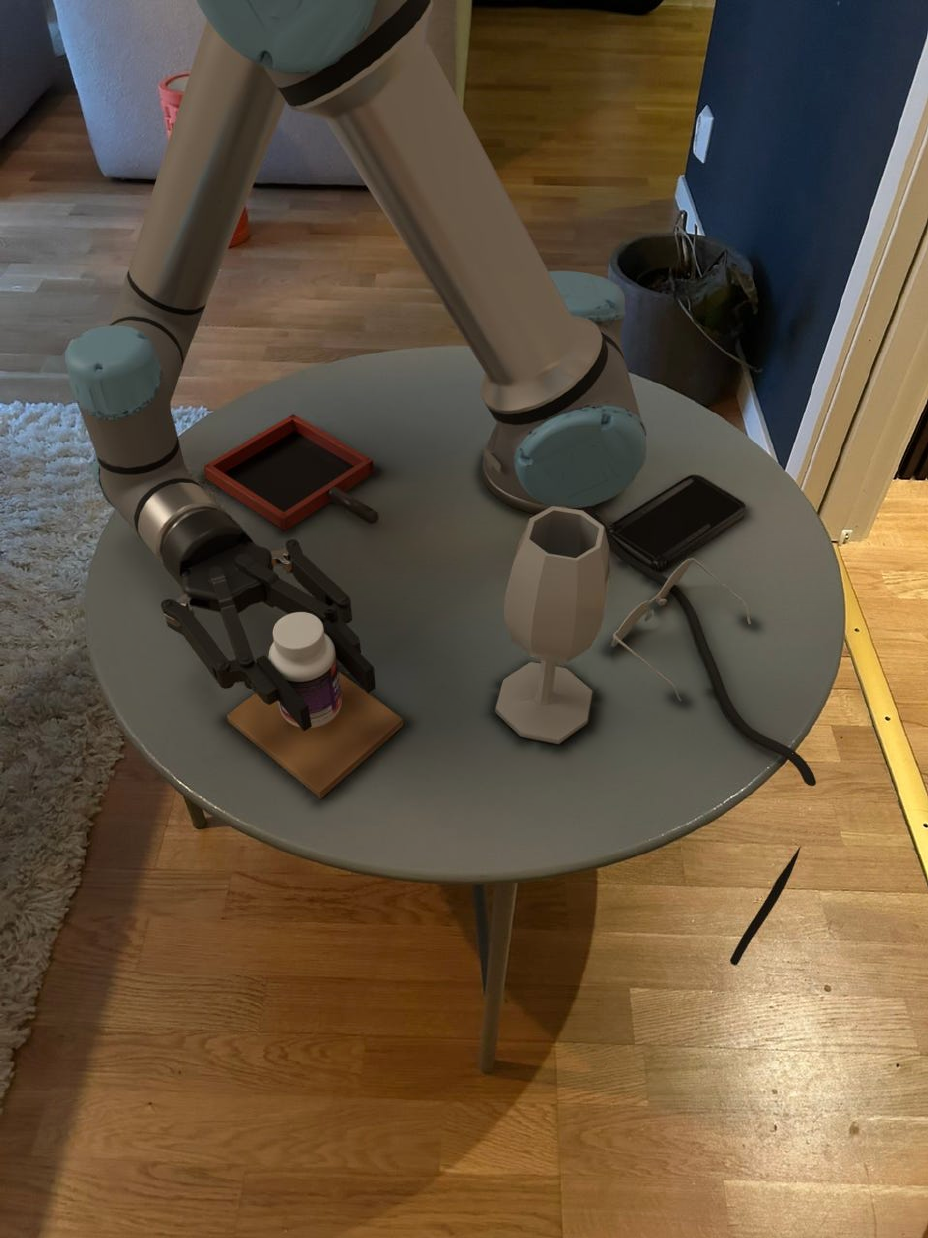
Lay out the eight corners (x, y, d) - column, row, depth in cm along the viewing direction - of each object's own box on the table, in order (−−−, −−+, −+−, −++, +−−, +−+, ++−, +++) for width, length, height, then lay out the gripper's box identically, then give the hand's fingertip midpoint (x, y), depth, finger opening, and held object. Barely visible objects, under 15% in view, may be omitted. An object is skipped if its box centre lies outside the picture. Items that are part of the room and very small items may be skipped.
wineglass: (563, 761, 78) (591, 590, 63) (477, 717, 81) (483, 544, 66) (608, 693, 83) (643, 520, 68) (525, 654, 86) (541, 480, 71)
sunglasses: (679, 580, 93) (696, 549, 89) (748, 629, 90) (768, 599, 86) (601, 657, 86) (615, 627, 82) (672, 713, 83) (690, 684, 79)
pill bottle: (351, 716, 78) (342, 642, 71) (291, 739, 76) (275, 665, 69) (329, 672, 81) (318, 596, 74) (271, 693, 79) (254, 617, 72)
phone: (604, 528, 97) (694, 471, 103) (602, 536, 97) (692, 479, 104) (660, 568, 93) (751, 506, 99) (658, 575, 93) (748, 514, 100)
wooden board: (403, 725, 80) (403, 718, 80) (320, 799, 75) (319, 793, 75) (311, 657, 86) (310, 650, 85) (228, 721, 81) (226, 715, 80)
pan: (420, 499, 101) (419, 483, 100) (331, 562, 94) (329, 546, 93) (295, 426, 111) (292, 410, 109) (205, 478, 104) (201, 463, 102)
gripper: (289, 530, 90) (432, 672, 78) (114, 614, 82) (243, 787, 70) (279, 470, 84) (431, 613, 72) (90, 554, 76) (226, 731, 64)
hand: (338, 698), depth 71 cm, fingers closed on pill bottle, 5 cm apart
